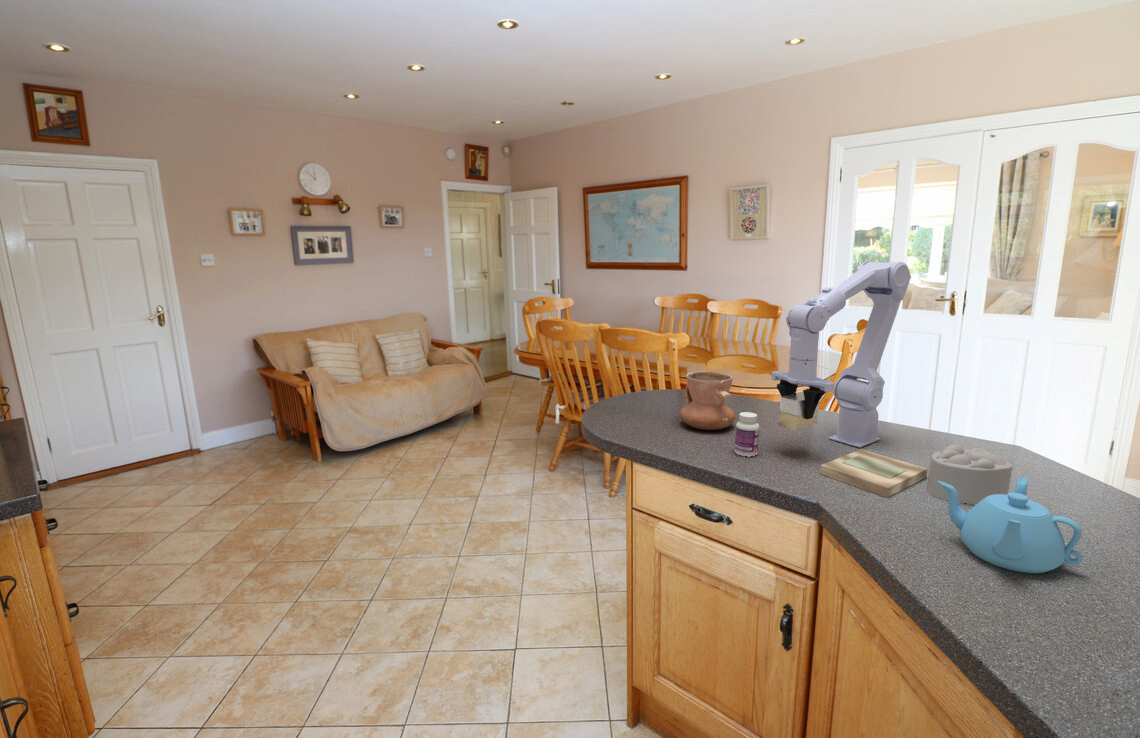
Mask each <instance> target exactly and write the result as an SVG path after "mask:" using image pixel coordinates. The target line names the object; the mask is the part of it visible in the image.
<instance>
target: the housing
mask: <svg viewBox="0 0 1140 738" xmlns="http://www.w3.org/2000/svg"><path fill="white" fill-rule="evenodd" d="M819 403H820V402H819ZM819 403H818V405H817V407H816V409H815V412H814V415H813V418H811V419H805V415H804V413H805V398H804V393H803V391H799V392H798V391H797V392H796V393H794V394H790V395H786V396H783V397H781V396H780V403H779V416H778V426H779V427H783V428H785V429H789V430H792V431H796V432H797V431H799V430H803V429H806V428H808V427H813V426H815V425H818V416H819V415H818V414H819V406H820V405H819Z"/></svg>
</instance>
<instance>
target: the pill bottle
mask: <svg viewBox="0 0 1140 738" xmlns="http://www.w3.org/2000/svg"><path fill="white" fill-rule="evenodd" d="M738 420H739V421H737V422H736V424H735V438H734V453H735V454H736V455H737V456H740V455H741V456H740V457H745V456H747V457H746V458H749V457H750V458H752V457H751V456H753V457H755V455H756V456H757V455H758V454H759V443H760V424H759V423H758V422H757V421H758V414H757V413H755V412H750V411H742V412H740V413H739V416H738Z"/></svg>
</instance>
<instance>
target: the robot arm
mask: <svg viewBox="0 0 1140 738" xmlns="http://www.w3.org/2000/svg"><path fill="white" fill-rule="evenodd" d="M911 279H912V276H911V272H910V269H909V266H908V264H907V263H905V262H902V261H899V262H891V261H890V262H888V261H886V262H885V261H869V260H866V261H864V262H863V263H861V264H859V265H857V266H856V268H855V271H854V273H853V274H852V275H850V276H849V277H848V278H847V279H845V280H844V281H843V282H842V283H841V284H839V285H838V286H837V287H831V286H830V287H826V286H825V287H824V288H822V289H821V292H819V293H818V294H817V295H815V296H814V297H812V298H809V299H808V300H807V302H805V303H804V304H796V305H794V306H792V307H791V309H790V310H789V311H788V314H787V316H786V317H785V322H786V325H787V327H788V329H789V330H788V331H789V332H788V334H789V336H790V349H789V359H788V360H789V362H788V372H785V371H779V370H776V371H772V372H771V377H770V378H771V380H772V381H779V383H777V384H776V389H777V390H778V392H779V395H780V398H781V397H783V396H786V395H790V394H794V393H797V390H798V388H799V387H798V386H802V387H805V389H803V391H802V392H803V393H804V398H805V413H804V415H805V419H811V418H813V415H814V412H815V409H816V407H817V405H818V403H820V401H821V399H823V396H824V395H825V394H826V393H831V392H833V397H834V398H835V400H837V404H838V405H839V408H838V409H839V410H838V421H837V429H836V431H837V433H836V434H834V435H831V436H829V440H832V441H835V442H839V443H842V444H846V445H849V446H852V447H854V448H855V447H856V448H860V449H861V448H863V447H865V446H868V445H870V444H873V443H876V442H878V441H880V439H881V438H880V437H877V433H878V424H879V423H878V422H879V412H878V410H877V407H878V406H879V405H880V404H881V403H882V400H883V395H884V385H885V383H886V381H885V380H884V378H883V377H882V376H881V375H880V373H879V372H878V368H879V366H880V363H881V360H882V357H883V355H884V351H885V350H886V349H885V348H886V346H887V343H888V340H889V337H890V334H891V332H892V328H893V325H894V322H895V319H896V317H897V314H898V311H899V307H900V304H901V301H903V300H904V298H905V296H906V292H907V290H908V287H909V284H910V281H911ZM861 292H863V293H865V295H866V297H868V298H869V299H871V301H872V303H873V305H872V308H871V312H870V315H869V318H868V320H867V323H866V327H865V329H864V332H863V335H862V339H861V340H860V343H859V346H858V349H857V353H856V355H855V358H854V360H853V364H852V365H850V366H847V367H846V368H845V369H842V371H841V373H840V375H839V377H838V379H837V380H836V381H835V382H832V381H829V380H826V379H823V378H819V377H817V375H816V373H817V362H818V361H817V360H818V352H819V351H818V350H819V340H820V332H821V331H823V330H824V329H825V327H826V326H827V322H828V321H829V320H830V318H831V317H833V316H835V315H836V314H837V313H838V312H840V311H841V310H843V309H844V308H845V307H846V303H847V300H849V299H850V298H852V297H854V296H856V295H857V294H859V293H861ZM818 406H819V405H818Z"/></svg>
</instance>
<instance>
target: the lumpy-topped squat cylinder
mask: <svg viewBox="0 0 1140 738" xmlns="http://www.w3.org/2000/svg"><path fill="white" fill-rule="evenodd" d="M928 469H929V470H928V475H927V482H926V483H927V484H926V491H928V492H927V493H928V494H929V493H930V494H929V495H931V496H933V497H935V498H937V497H938V499H940V498H941V499H940V500H943V499H945V500H944V501H947V500H948V495H947V492H946V490H945V489H944V487H943V486H941V485H940V484H939V483H938V482H937V481H942V482H945V483H947V484H949V485H951V486H953V487H954V488H955V489H956V491H957V493H958V502H960V503H959V504H962V503H967V504H966V505H969V504H978V503H979V502H980V501H981V500H983V499H984V498H986V497H987V496H990V495H995V494H1004V495H1007V494H1008V493H1009V489H1010V485H1011V480H1012V479H1011V477H1012V472H1013V471H1012V470H1013V465H1012V463H1010V462H1008V461H1006V460H1004V458H1002V457H1001V456H1000V455H998V454H997V455H996V454H995V453H991V452H989V451H987V450H985V449H984V448H980V447H974V448H971V449H970V448H963V447H962V446H961V445H959V444H950V445H948V446H946V447H944V449H940V450H938V451H935V452H933V453H932V454H931V457H930V463H929V468H928Z"/></svg>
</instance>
